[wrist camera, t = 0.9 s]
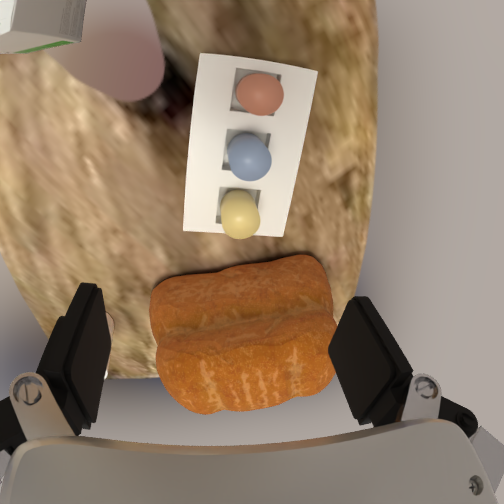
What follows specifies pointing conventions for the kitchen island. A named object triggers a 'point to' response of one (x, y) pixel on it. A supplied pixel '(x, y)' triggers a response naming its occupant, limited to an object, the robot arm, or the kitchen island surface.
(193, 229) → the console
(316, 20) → the kitchen island surface
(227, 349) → the bread
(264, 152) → the slate button
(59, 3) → the skincare box
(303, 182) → the kitchen island surface
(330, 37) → the kitchen island surface
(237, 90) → the rust button
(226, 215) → the mustard button
